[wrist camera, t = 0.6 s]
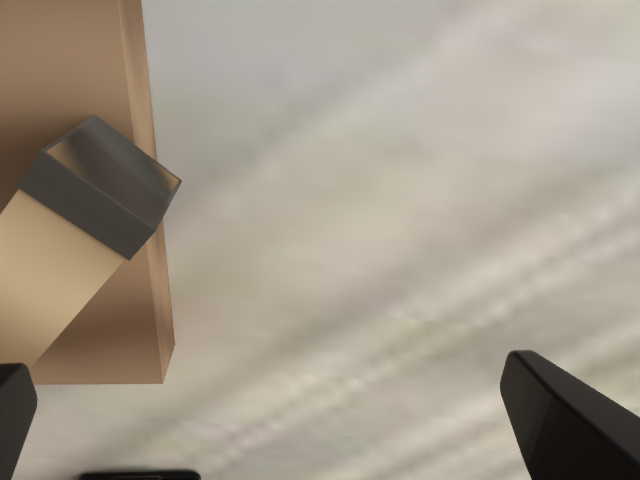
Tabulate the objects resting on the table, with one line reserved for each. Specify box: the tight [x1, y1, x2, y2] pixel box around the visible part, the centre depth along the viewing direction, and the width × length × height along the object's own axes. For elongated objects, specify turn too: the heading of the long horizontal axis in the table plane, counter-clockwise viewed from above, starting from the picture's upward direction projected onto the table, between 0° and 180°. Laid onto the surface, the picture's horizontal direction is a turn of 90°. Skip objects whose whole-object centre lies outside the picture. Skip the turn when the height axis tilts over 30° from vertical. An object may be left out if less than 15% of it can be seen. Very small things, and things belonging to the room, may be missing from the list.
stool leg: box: [0, 115, 182, 369], centre depth 15 cm, size 14×3×4 cm, turn 136°
